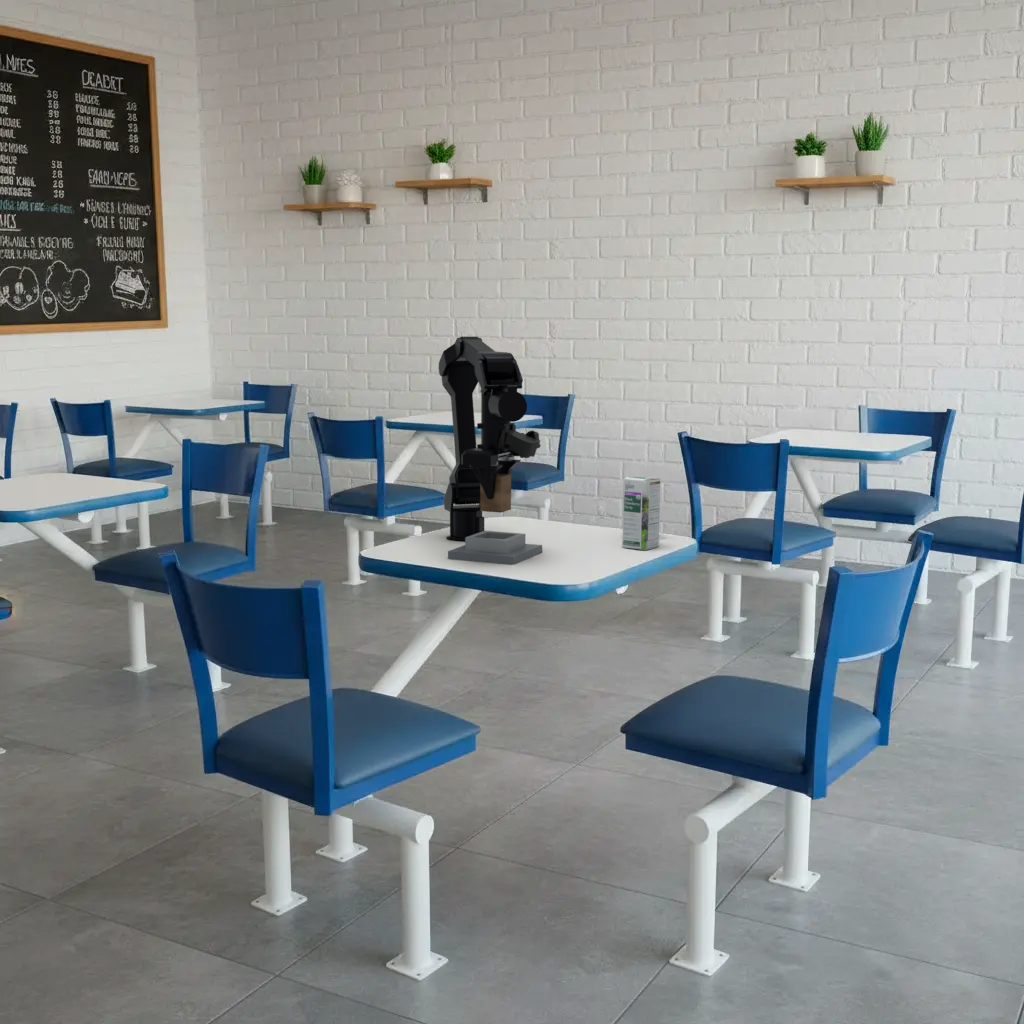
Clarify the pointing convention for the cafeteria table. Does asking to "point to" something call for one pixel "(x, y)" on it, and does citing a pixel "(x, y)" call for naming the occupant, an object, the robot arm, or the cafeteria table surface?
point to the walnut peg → (498, 495)
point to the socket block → (495, 548)
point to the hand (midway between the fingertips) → (495, 497)
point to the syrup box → (641, 512)
